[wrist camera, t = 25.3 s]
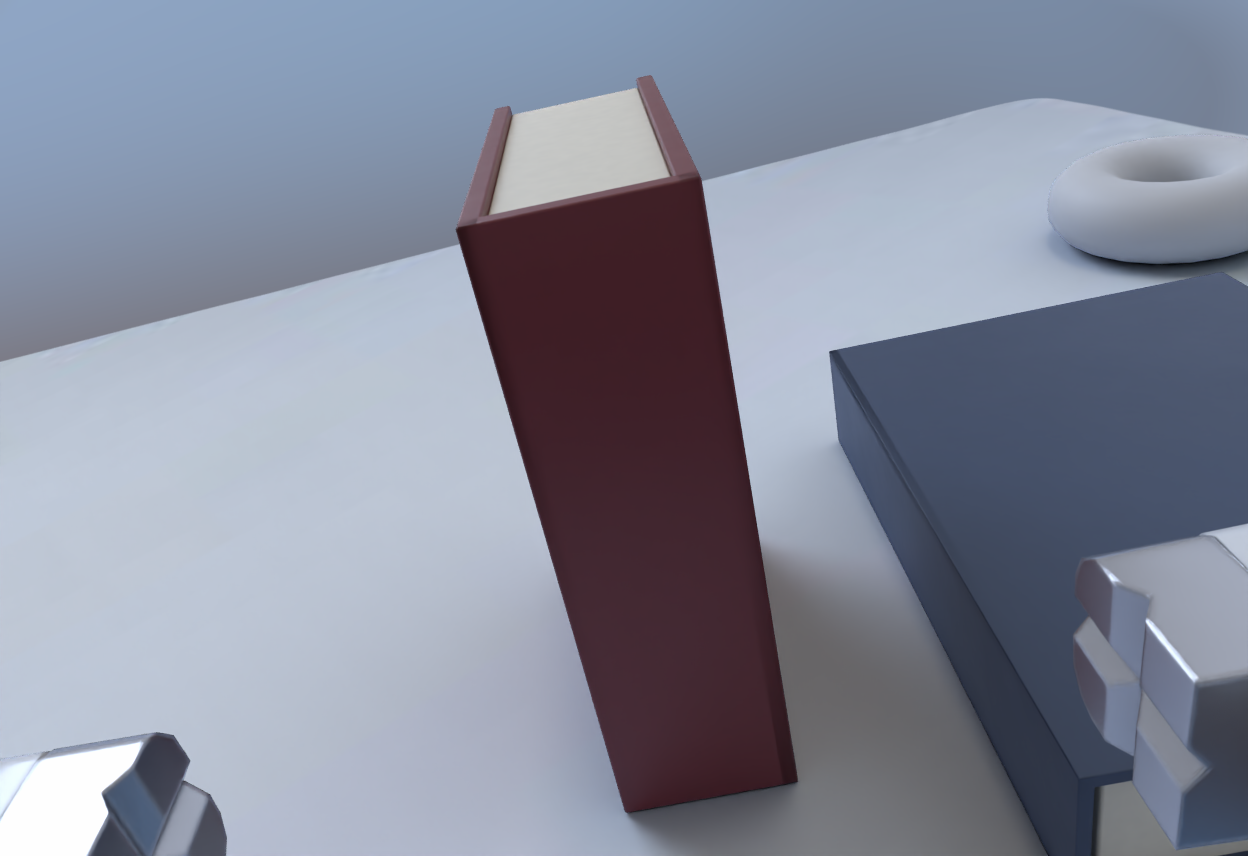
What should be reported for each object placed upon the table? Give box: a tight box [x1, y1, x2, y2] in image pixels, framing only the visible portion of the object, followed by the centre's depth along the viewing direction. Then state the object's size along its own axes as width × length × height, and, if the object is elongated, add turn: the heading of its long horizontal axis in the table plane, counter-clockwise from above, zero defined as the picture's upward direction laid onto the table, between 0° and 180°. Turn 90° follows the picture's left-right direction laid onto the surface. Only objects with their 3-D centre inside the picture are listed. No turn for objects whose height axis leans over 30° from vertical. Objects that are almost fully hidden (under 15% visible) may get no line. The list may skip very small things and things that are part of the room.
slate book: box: [829, 272, 1248, 856], centre depth 25 cm, size 13×18×4 cm
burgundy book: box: [456, 75, 798, 813], centre depth 23 cm, size 4×10×14 cm, turn 3°
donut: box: [1047, 135, 1248, 264], centre depth 43 cm, size 10×3×10 cm
